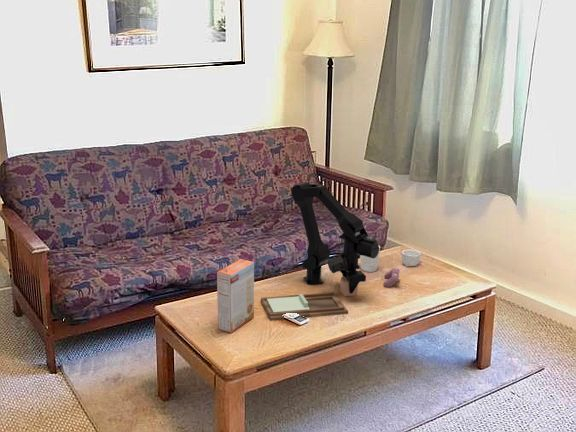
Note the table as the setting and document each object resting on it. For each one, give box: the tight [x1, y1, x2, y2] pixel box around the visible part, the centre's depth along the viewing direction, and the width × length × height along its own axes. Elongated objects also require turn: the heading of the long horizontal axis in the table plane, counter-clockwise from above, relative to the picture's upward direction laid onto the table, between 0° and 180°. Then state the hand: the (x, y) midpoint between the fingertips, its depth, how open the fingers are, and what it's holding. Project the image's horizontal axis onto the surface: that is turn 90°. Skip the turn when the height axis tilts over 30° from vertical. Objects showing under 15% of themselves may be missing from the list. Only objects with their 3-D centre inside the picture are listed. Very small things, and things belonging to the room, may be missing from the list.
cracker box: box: [216, 258, 255, 334], centre depth 228 cm, size 14×6×21 cm, turn 150°
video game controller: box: [383, 267, 401, 288], centre depth 268 cm, size 10×5×7 cm, turn 170°
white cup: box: [360, 245, 381, 273], centre depth 280 cm, size 8×8×10 cm
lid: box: [267, 293, 310, 313], centre depth 243 cm, size 11×13×2 cm
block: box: [339, 276, 359, 297], centre depth 258 cm, size 5×5×6 cm
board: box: [260, 291, 349, 321], centre depth 245 cm, size 16×28×2 cm, turn 104°
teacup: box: [401, 249, 422, 267], centre depth 287 cm, size 10×8×5 cm
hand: (348, 290), depth 258 cm, fingers closed on block, 5 cm apart
